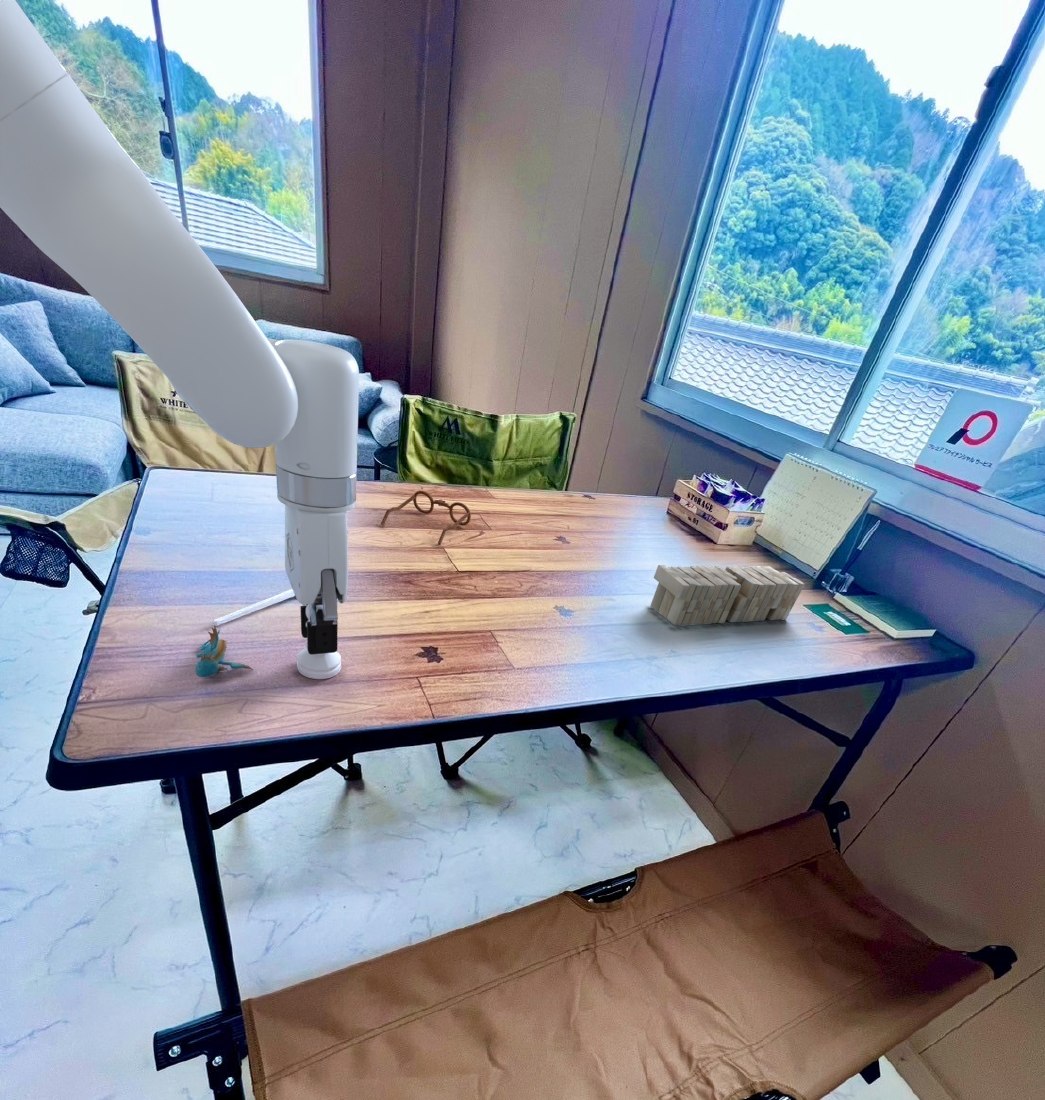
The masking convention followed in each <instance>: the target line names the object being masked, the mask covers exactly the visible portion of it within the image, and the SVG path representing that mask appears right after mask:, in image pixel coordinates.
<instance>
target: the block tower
mask: <svg viewBox="0 0 1045 1100" xmlns="http://www.w3.org/2000/svg"><path fill="white" fill-rule="evenodd" d="M653 579H654V580H656V582H658V583H657V586H656V589H655V592H654V594H653V597H652V599H651V602H650V605H649V608H651V609H652V610H654V611H655V612H656V613H658V614H660V616H662V617H663V618H665V619H666V620H668V622H670V623H671V624H672V625H674V626H681V627H683V626H693V625H694V626H696V625H698V626H699V625H711V624H717V623H718V624H724V623H725V622H726V621H728V622H729V623H741V622H743V623H745V622H746V623H747V622H758V621H765V620H766V619H767V620H769V621H776V620H777V621H778V620H781V621H786V620H787V619H788V617H789V615H790V613H791V611H792V609H793V607H794V605H795V604H796V602H797V600H798V598H799V596H800V595H801V592H802V591H803V588H804V587H805V585H806V584H805V583H804V582H803V581H801V580H800V579H798V578H797V577H796V578H795V577H794V576H792V575H790V574H789V573H788V572H786V571H778V570H776V569H775V568H774V567H772V566H769V565H768V566H767V565H766V566H758V565H755V566H753V565H750V566H748V565H747V566H746V565H745V566H737V565H736V566H735V565H734V566H726V567H725V569H724V568H723V567H721V566H719V565H714V566H711V565H710V566H703V565H696V566H694V565H693V566H692V565H690V566H666V565H665V564H658V565H657V567H656V570H655V573H654V575H653Z"/></svg>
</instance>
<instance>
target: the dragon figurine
mask: <svg viewBox="0 0 1045 1100" xmlns="http://www.w3.org/2000/svg"><path fill="white" fill-rule="evenodd" d="M211 630H212V632H211V631H207V634H208V635H209V636H210V638H209V639H208V640H207V641H205V643H203V644H202V645H201V646H200V647H199V650H200V651H201V652H199V653H197V654H196V655H195V656H196V659H199V661H198V662H197V663H196V665H195V668H194V670H195V671H194V672H195V675H196V676H197V677H199V678H209V677H212V676H217V675H223V674H224V672H222V671H226V670H228V667H225V666H229V667H230V669H235V670H237V669H245V670H246V669H247V670H251V671H254V669H253V668H252V667H251V666H249V665H246V664H244V663H242V662H233V661H223V660H224V658H225V654H226V650H227V645H228V643H227V640H226V639H222V638H221V639H220V638H219V635H220V633H221V629H217V626H216V625H213V627H211ZM202 651H203V652H202Z"/></svg>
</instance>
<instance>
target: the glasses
mask: <svg viewBox="0 0 1045 1100" xmlns="http://www.w3.org/2000/svg"><path fill="white" fill-rule="evenodd" d="M418 495H424V496H426V497H427V498H428V500H429V502H430V507H429V509H428V510H425V509H423V508H421V507H420V506H419V505H418V501H417V497H418ZM411 502H412V503H413V505H414V507H415V509H417V511H418V512H419V513H421V514H425V515H427V514H431V513H433V510H434V508H435V507H434V506H435V505H439V506H442V507H445V508H447V509H448V510H449V516H450V519H451V521H452V522H453V524H452V525H448V526H446V527H445V528H443V529H442V532H441V534H440V537H439V539H438V541H437V544H438V546H441V545H442V543H443V540H444V538H445V536H446V533H447V532H448V531H450V530H453V529H455V528H457V527H458V526H463V527H465V526H467V525H469V523H470V521H471V517H472V514H471V511H470V509H469V507H468V506H467V505H466V504H465V503H462V502H459V501H456V502H453V503H451V504H448V503H447V502H444V501H441V500H435V499H434V498H433V496H432V495H430V493H428V492H427V491H425V490H417V491H415V493H414V494H413V495H411V496H410V497H409V498H407V499H406V500H405V501H403V502H402V503H401V504H399V505H398V506H393V507H391V508H388V509H386V511H385V514H384V515H383V517H382V519H381V522H380V525H381V526H382V527H384V526H385V524H386V521H387V520H388V517H389V515H390V513H391V512H394V511H401V510H402V509H403V508H405V507H406V506H407V505H408V504H410V503H411ZM457 506H458V507H461V508H463V510H465V512H466V513H465V514H463V515H462V516H461V517H460V518H459V519H458V520H457V519H456V518H455V516H454V513H453V509H454V507H457ZM464 520H466V521H464Z"/></svg>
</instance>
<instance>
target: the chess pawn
mask: <svg viewBox="0 0 1045 1100" xmlns="http://www.w3.org/2000/svg"><path fill="white" fill-rule="evenodd" d="M306 606H307V607H306V616H307V618H308V619H309V620H308V621H307V622H310V613H309V604H308V605H306ZM322 608H323V605H316V612H317V610H318V609H322ZM307 622H306V627H307ZM296 668H297V671H298V672H299V674H301V676H303V677H306V678H309V679H314V680H325V679H330V678H333V677H336V676H337V675H338V674H339V673H340V672H341V670H342V656H341V654H340V653H339V652H338V650H337V651H336V652H334V653H324V654H313V655H311V654H309V652H308V646H307V642H306V643H305V648H303V649H302V650H300V651H299V652H298V654H297V655H296Z"/></svg>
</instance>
